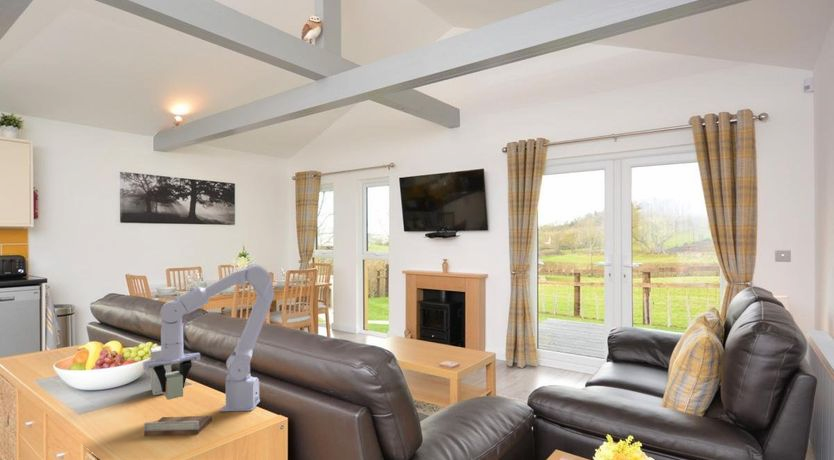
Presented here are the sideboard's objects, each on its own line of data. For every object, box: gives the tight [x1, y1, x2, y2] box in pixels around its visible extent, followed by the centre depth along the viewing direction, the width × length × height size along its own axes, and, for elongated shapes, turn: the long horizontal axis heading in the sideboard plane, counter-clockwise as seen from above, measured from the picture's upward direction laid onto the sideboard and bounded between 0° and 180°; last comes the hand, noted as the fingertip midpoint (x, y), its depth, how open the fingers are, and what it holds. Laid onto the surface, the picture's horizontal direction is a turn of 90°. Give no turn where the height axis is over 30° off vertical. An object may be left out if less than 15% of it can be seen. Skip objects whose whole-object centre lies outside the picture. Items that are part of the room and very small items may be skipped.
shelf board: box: [143, 415, 213, 437], centre depth 123 cm, size 14×9×1 cm, turn 92°
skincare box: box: [149, 345, 172, 396], centre depth 152 cm, size 8×6×15 cm
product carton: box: [162, 370, 184, 401], centre depth 129 cm, size 4×6×6 cm
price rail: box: [143, 421, 199, 431], centre depth 118 cm, size 14×1×2 cm, turn 92°
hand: (172, 389), depth 129 cm, fingers closed on product carton, 4 cm apart
